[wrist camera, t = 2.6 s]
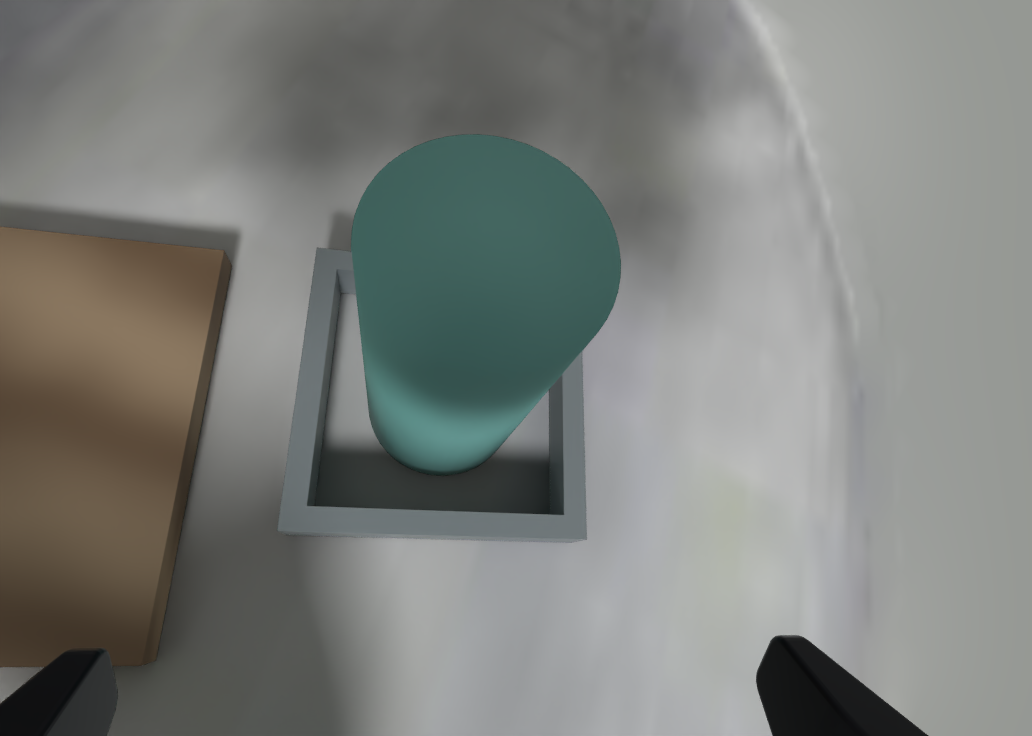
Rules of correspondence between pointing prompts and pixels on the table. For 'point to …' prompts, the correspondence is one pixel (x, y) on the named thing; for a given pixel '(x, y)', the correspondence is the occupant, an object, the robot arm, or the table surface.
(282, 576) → the table surface
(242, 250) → the table surface
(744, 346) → the table surface
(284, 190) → the table surface
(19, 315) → the pad
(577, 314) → the canister
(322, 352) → the tray
